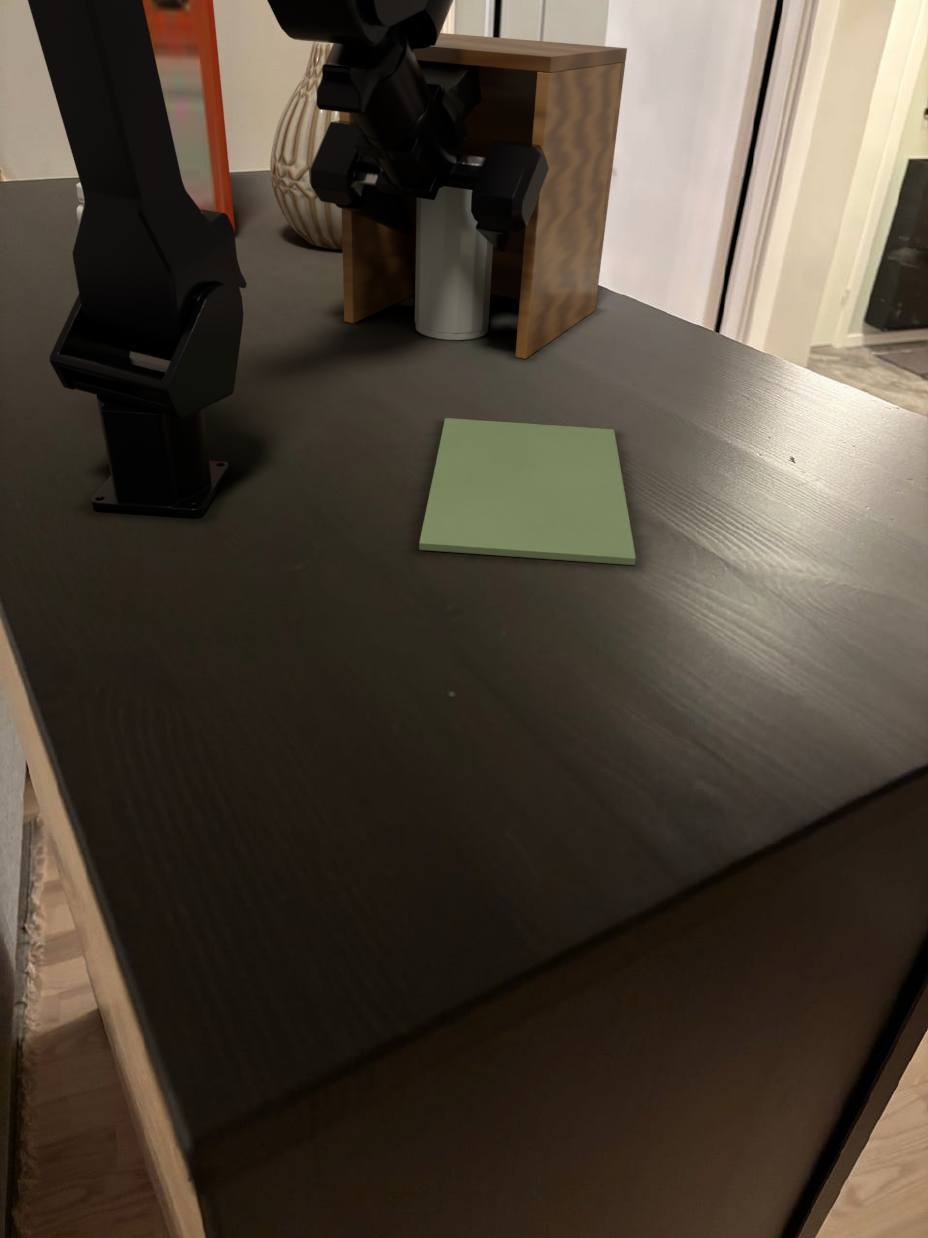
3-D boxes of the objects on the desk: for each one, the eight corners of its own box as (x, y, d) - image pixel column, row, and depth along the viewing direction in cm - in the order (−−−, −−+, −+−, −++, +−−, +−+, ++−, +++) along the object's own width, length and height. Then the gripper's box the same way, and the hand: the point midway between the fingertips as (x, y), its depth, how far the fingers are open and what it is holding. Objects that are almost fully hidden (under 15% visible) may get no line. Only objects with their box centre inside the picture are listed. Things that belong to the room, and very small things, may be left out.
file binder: (163, 237, 109) (119, -115, 91) (164, 205, 123) (126, -106, 105) (235, 236, 111) (205, -109, 93) (229, 205, 124) (202, -101, 106)
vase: (249, 247, 107) (232, 39, 96) (312, 220, 119) (304, 34, 108) (380, 265, 103) (379, 50, 92) (431, 235, 116) (436, 43, 104)
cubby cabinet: (525, 359, 80) (551, 56, 68) (344, 321, 86) (336, 37, 74) (595, 310, 93) (627, 47, 80) (432, 280, 99) (439, 32, 87)
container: (486, 342, 83) (496, 181, 76) (411, 337, 83) (413, 176, 76) (489, 319, 89) (498, 167, 81) (419, 315, 89) (422, 162, 82)
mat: (634, 565, 53) (636, 558, 52) (418, 550, 53) (419, 542, 53) (613, 435, 68) (614, 428, 67) (444, 424, 68) (444, 417, 68)
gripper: (551, 17, 65) (589, 170, 80) (322, 0, 72) (395, 145, 86) (495, 158, 64) (544, 288, 78) (267, 128, 70) (351, 253, 85)
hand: (456, 238), depth 82 cm, fingers open, 9 cm apart
